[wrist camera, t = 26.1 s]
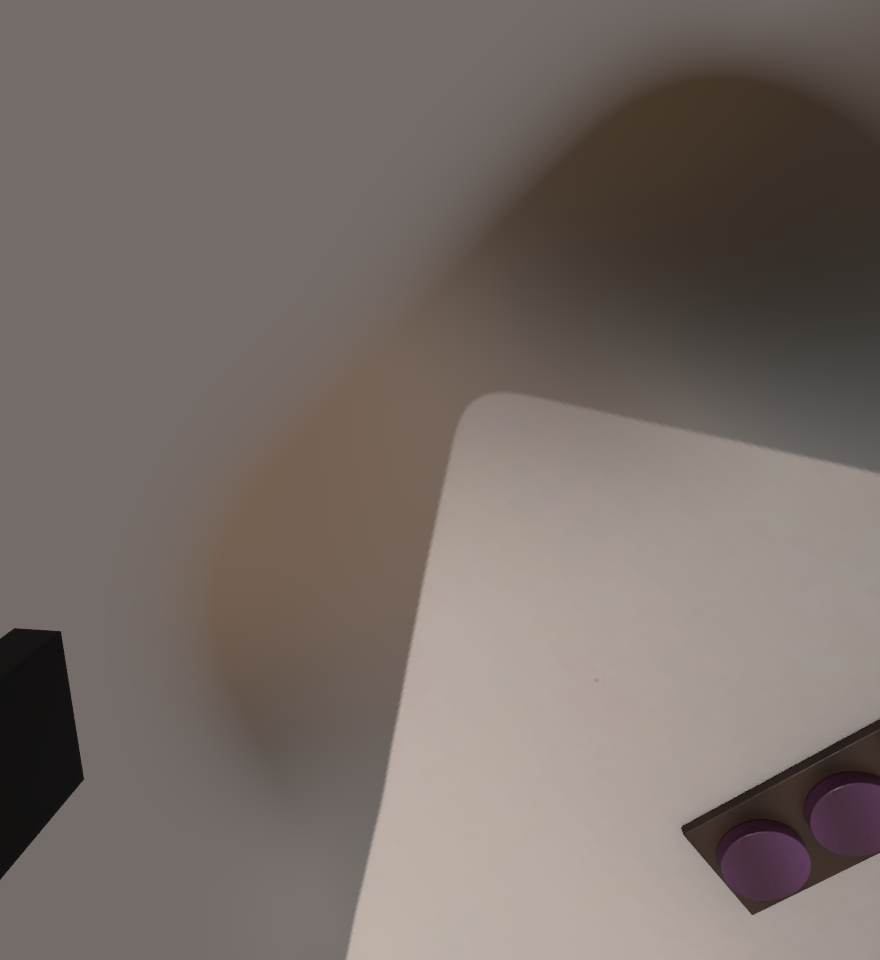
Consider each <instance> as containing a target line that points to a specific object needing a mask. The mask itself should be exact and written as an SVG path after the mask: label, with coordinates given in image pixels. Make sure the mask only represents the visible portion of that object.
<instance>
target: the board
mask: <svg viewBox="0 0 880 960" xmlns="http://www.w3.org/2000/svg"><path fill="white" fill-rule="evenodd" d="M682 832H683V835H684V836H685V837H686V838H687V839H688V841H689V842H690V843H691V844H692V845H693V846H694V848H695V849H696V850H697V851H698V852H699V853H700V855H701V856H702V857H703V858H704V859H705V860H706V862H707V863H708V864H709V865H710V866H711V867H712V869H713V870H714V871H715V872H716V873H717V874H718V876H719V877H720V878H721V879H722V880H723V882H724V883H725V884H726V885H727V886H728V887H729V889H730V890H731V891H732V892H733V893H734V894H735V896H736V897H737V898H738V899H739V900H740V901H741V903H742V904H743V905H744V906H745V907H746V908H747V910H748V911H749V912H750V913H751V914H752V915H754V914H756V913H758V912H760V911H762V910H764V909H766V908H768V907H770V906H772V905H774V904H776V903H778V902H780V901H782V900H784V899H786V898H789V897H791V896H793V895H795V894H797V893H799V892H801V891H803V890H805V889H807V888H809V887H811V886H813V885H815V884H817V883H819V882H821V881H823V880H825V879H827V878H829V877H831V876H833V875H836V874H838V873H840V872H842V871H844V870H846V869H848V868H850V867H852V866H854V865H856V864H858V863H860V862H862V861H864V860H866V859H868V858H870V857H872V856H874V855H876V854H878V853H880V720H879V721H877V722H875V723H874V724H872V725H870V726H868V727H866V728H864V729H863V730H861V731H859V732H857V733H855V734H853V735H851V736H850V737H848V738H846V739H844V740H842V741H840V742H839V743H837V744H835V745H833V746H831V747H829V748H827V749H826V750H824V751H822V752H820V753H818V754H816V755H815V756H813V757H811V758H809V759H807V760H805V761H803V762H802V763H800V764H798V765H796V766H794V767H792V768H790V769H789V770H787V771H785V772H783V773H781V774H779V775H778V776H776V777H774V778H772V779H770V780H768V781H766V782H765V783H763V784H761V785H759V786H757V787H755V788H754V789H752V790H750V791H748V792H746V793H744V794H742V795H741V796H739V797H737V798H735V799H733V800H731V801H729V802H728V803H726V804H724V805H722V806H720V807H718V808H717V809H715V810H713V811H711V812H709V813H707V814H705V815H704V816H702V817H700V818H698V819H696V820H694V821H693V822H691V823H689V824H687V825H685V826H683V827H682Z"/></svg>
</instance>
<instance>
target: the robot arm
mask: <svg viewBox="0 0 880 960" xmlns="http://www.w3.org/2000/svg"><path fill="white" fill-rule="evenodd" d="M83 780H84V777H83V770H82V764H81V757H80V751H79V745H78V738H77V732H76V725H75V720H74V713H73V706H72V700H71V693H70V687H69V681H68V674H67V668H66V661H65V655H64V649H63V642H62V636H61V631H47V630H31V629H16V628H15V629H13V630H12V631H10V632H9V633H7V634H6V635H5V636H3V637H2V638H1V639H0V879H1V878H2V877H3V876H4V875H5V873H6V872H7V871H8V870H9V869H10V867H11V866H12V865H13V864H14V862H15V861H16V860H17V859H18V858H19V857H20V855H21V854H22V853H23V852H24V851H25V849H26V848H27V847H28V845H30V843H31V842H32V841H33V840H34V839H35V837H36V836H37V835H38V834H39V833H40V831H41V830H42V829H43V828H44V826H45V825H46V824H47V823H48V822H49V821H50V819H51V818H52V817H53V816H54V814H55V813H56V812H57V811H58V810H59V809H60V807H61V806H62V805H63V804H64V803H65V801H66V800H67V799H68V798H69V796H70V795H71V794H72V793H73V792H74V791H75V789H76V788H77V787H78V786H79V784H80V783H81V782H82V781H83Z"/></svg>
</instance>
